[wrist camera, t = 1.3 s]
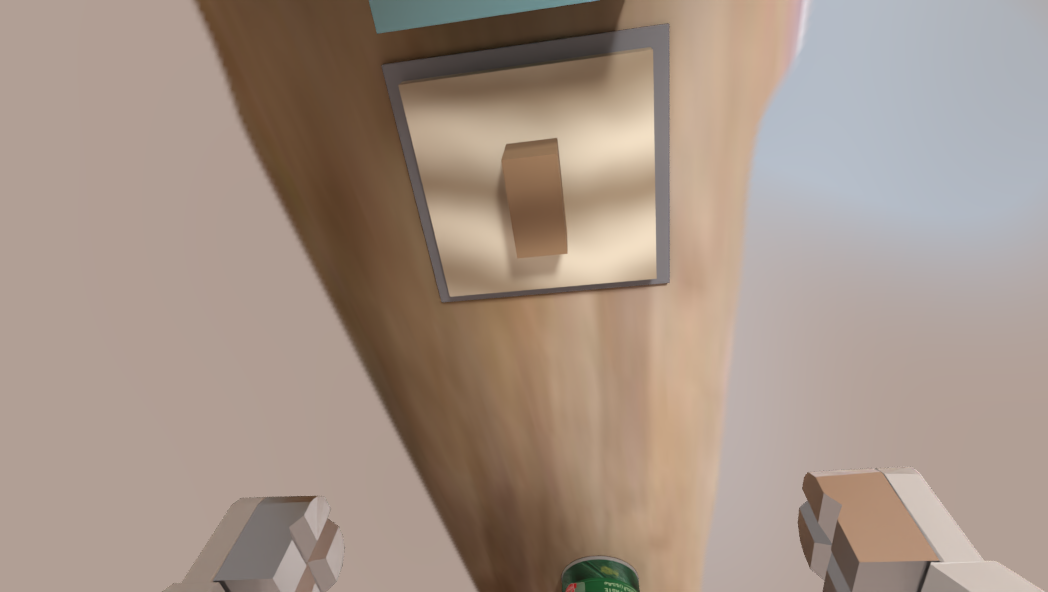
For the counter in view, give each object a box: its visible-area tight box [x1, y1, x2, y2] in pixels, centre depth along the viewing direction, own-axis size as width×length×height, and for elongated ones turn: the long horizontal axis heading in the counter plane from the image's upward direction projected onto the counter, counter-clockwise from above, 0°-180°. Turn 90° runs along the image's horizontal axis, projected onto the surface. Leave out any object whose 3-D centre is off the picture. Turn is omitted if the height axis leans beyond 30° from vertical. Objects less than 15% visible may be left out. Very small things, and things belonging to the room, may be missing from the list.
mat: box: [381, 23, 670, 302], centre depth 35 cm, size 16×16×1 cm
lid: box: [398, 47, 657, 297], centre depth 33 cm, size 14×14×4 cm
